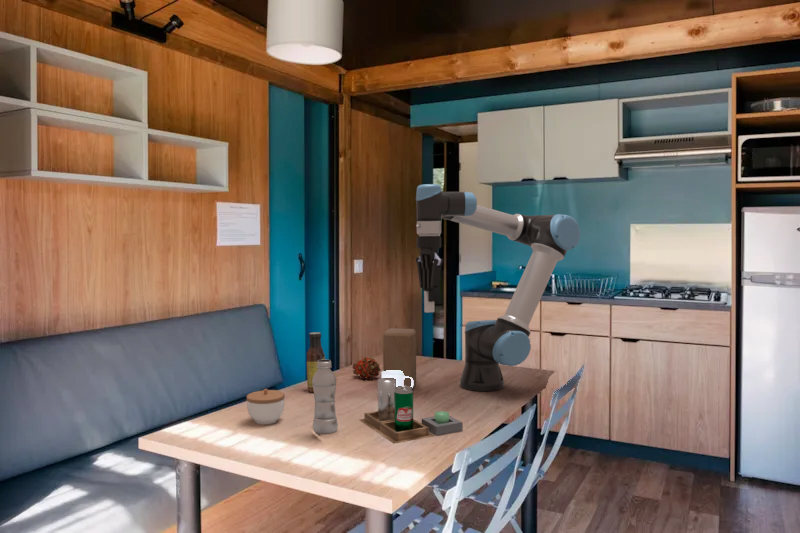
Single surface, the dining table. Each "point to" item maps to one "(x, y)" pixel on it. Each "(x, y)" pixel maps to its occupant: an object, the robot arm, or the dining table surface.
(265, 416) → the lidded jar
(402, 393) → the soda can
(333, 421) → the plastic bottle
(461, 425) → the grey square holder
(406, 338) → the block
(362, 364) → the reddish brown bumpy oval
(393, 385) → the seated cylinder
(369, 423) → the tray
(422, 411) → the dining table surface
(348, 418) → the dining table surface
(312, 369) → the sauce bottle
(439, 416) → the button
